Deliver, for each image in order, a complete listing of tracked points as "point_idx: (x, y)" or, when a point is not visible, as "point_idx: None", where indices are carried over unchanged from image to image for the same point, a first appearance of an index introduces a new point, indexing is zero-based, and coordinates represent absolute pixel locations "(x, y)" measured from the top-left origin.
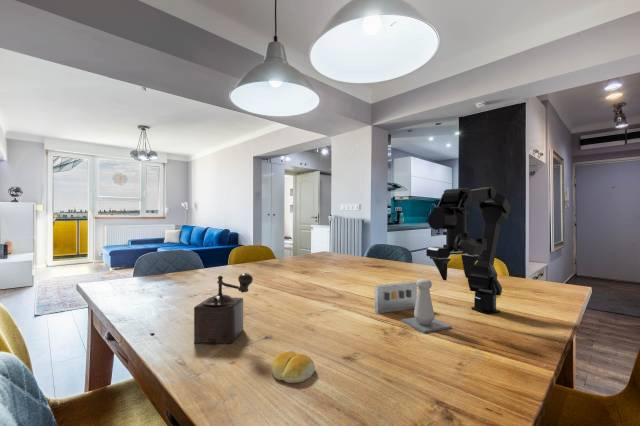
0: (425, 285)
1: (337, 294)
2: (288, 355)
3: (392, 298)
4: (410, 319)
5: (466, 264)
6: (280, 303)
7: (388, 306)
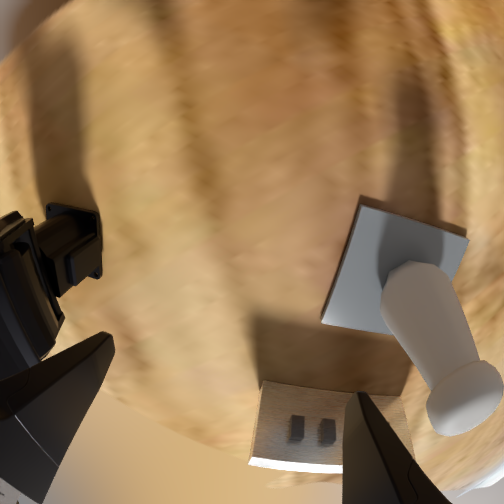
0: (499, 374)
1: (331, 480)
2: None
3: None
4: None
5: (55, 429)
6: (445, 464)
7: None
